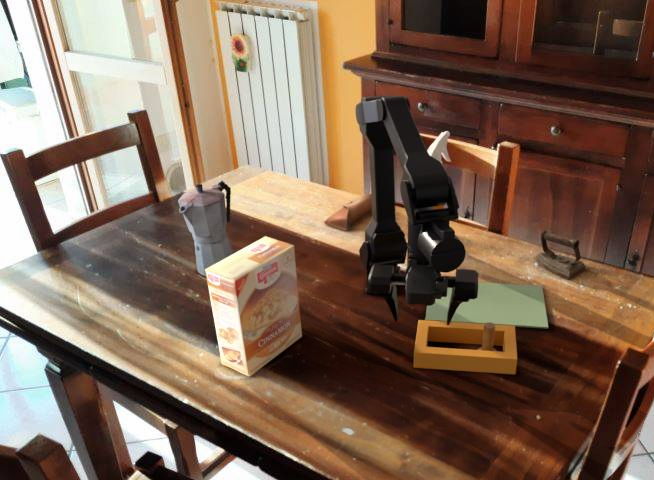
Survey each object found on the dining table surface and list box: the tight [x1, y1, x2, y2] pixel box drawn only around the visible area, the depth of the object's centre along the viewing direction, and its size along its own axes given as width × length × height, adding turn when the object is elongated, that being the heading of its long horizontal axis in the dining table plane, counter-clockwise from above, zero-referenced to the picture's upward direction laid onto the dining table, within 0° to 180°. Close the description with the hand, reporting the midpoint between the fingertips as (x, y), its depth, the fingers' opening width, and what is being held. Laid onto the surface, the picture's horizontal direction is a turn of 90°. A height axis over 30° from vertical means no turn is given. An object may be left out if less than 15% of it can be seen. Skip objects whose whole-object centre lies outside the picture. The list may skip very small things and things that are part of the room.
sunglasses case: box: [323, 193, 372, 232], centre depth 169 cm, size 18×7×7 cm
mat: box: [424, 281, 549, 330], centre depth 134 cm, size 24×16×1 cm, turn 84°
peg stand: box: [476, 322, 498, 351], centre depth 118 cm, size 4×4×7 cm
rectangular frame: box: [413, 319, 518, 375], centre depth 119 cm, size 18×10×3 cm, turn 84°
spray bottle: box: [426, 130, 452, 210], centre depth 150 cm, size 7×11×26 cm, turn 148°
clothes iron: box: [535, 230, 587, 280], centre depth 146 cm, size 7×11×10 cm, turn 47°
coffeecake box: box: [205, 235, 303, 377], centre depth 115 cm, size 15×7×20 cm, turn 148°
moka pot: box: [177, 180, 235, 277], centre depth 141 cm, size 10×15×20 cm, turn 158°
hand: (422, 322), depth 117 cm, fingers open, 9 cm apart
